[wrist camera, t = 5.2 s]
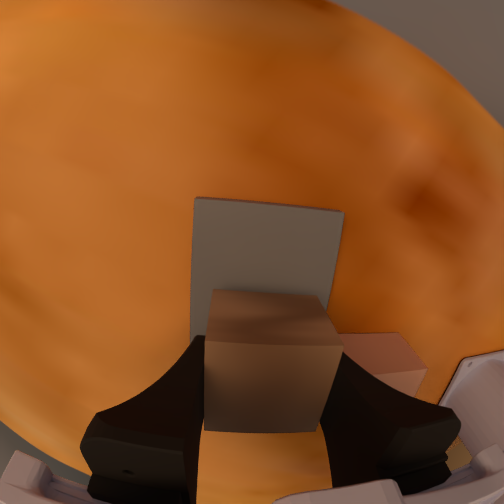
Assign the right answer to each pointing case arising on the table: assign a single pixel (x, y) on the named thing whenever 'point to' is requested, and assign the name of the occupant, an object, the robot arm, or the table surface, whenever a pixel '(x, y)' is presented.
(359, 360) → the terracotta brick
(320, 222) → the baseplate
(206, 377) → the walnut brick
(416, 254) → the table surface
